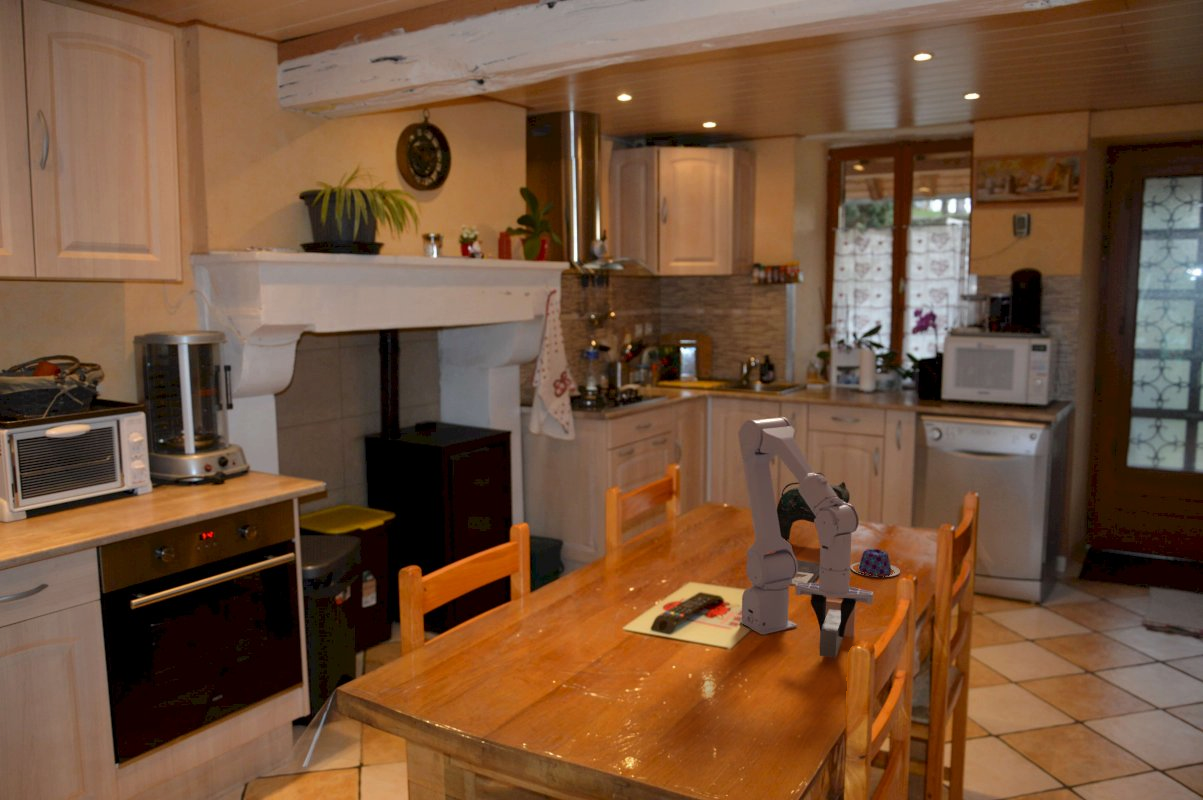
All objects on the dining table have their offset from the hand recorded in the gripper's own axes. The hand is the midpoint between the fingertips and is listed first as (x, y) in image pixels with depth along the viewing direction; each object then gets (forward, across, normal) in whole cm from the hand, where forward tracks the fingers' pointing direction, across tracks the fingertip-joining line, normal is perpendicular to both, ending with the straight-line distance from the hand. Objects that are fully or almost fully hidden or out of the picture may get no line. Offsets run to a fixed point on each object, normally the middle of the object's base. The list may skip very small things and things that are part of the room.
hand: (832, 633), depth 179 cm
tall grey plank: (+2, 0, 0) cm, 2 cm away
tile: (+4, 0, +11) cm, 12 cm away
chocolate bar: (+5, -14, +47) cm, 49 cm away
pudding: (+5, +3, +56) cm, 57 cm away
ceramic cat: (+5, -16, +74) cm, 76 cm away
